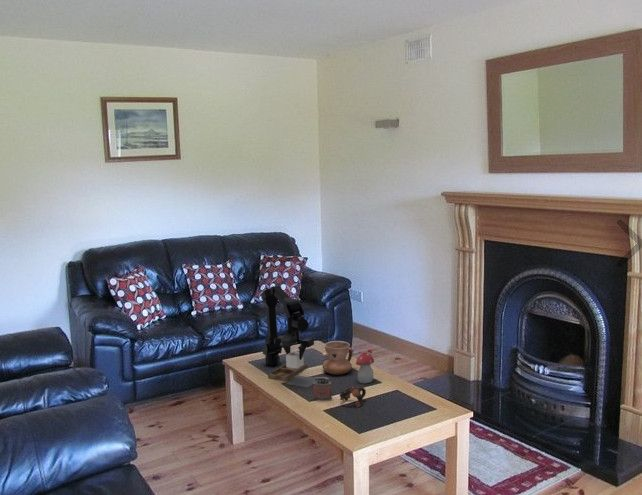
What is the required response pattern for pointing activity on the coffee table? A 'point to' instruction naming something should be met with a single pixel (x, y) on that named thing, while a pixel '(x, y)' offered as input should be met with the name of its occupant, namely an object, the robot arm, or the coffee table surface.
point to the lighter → (322, 389)
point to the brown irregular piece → (355, 393)
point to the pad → (302, 381)
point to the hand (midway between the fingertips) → (294, 359)
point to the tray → (286, 373)
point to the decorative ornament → (365, 367)
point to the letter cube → (294, 360)
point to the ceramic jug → (337, 357)
